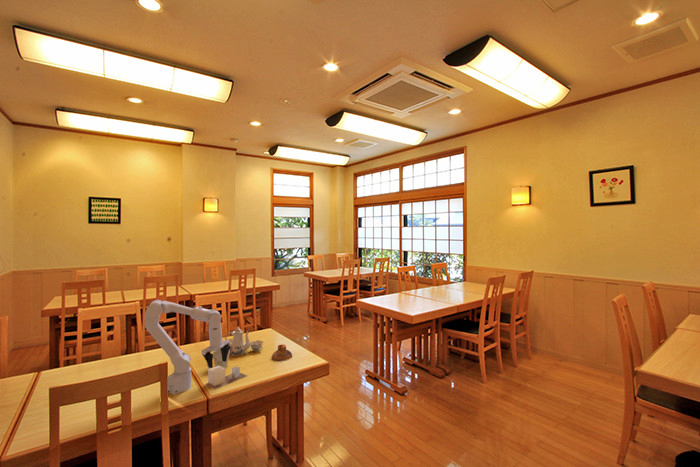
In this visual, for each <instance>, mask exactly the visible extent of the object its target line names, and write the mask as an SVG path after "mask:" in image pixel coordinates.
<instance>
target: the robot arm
mask: <svg viewBox="0 0 700 467" xmlns="http://www.w3.org/2000/svg"><path fill="white" fill-rule="evenodd" d="M162 313H163V314H164V315H166V314H169V313H176V314H177V313H178V314H182V315H188V316H189V317H190V319H192V320H197V321H201V322H205V323H206V322H207V323H208V336H209V337H208V340H209V346H207V347H206V348H204V349H202V350H201V355H202V356H203V358H204V359H205V362H206V365H207V364H208V366H207V367H209V368H208V369H210V368H212V367H214V364H213V362H214V361H213V360H214V358H213V356H214V354H213V351H214V350H217V349H219V348H220V349H221V353H222V361H224V362H226V360H227V355H228V352H229V350H230V346H229V345H230V341H229V339H227V341H225V340H224V341H223V332H222V331H223V329H222V322H221V321H222V315H221V313H220V312H219V311H218V310H216V309H211V308H210V309H208V308H204V307H203V306H200V305H199V306H195V307H189V306H185V305H183V304H179V303H175V302H172V301H167V300H161V299H154V300H152V301H151V302H150V303H149V305H147V307H146V308H145V311H144V328H145V329H146V330H147V332H148V333H149V334H150V335H151V336H152V338H153V339H154V340H155V341H156V344H158V345H159V346H160V347H161V349H162V350H163V351H164V352H165V354H167V356H168V357H169V359H170V361H171V362H170V363H171V364H172V365H173V369H174V370H173V373H171V374H169V375H168V376H167V378H168V391H169V392H168V393H169V394H171V395H173V396H174V395H177V394H180V393H184V392H186V391H189V390H191V388H192V367H191V356H190V355H189V354H188V353H185V352H184V351H183V350H182V349H181V348H179V346H178V345H177V344H176V343H175V342H174V340H173V339H172V338H171V337H170V335H169V334H168V333H167V331H166V330H165V329H164V328H163V327H162V326H161V324H160V323H159V322H160V318H161V316H162Z"/></svg>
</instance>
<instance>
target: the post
mask: <svg viewBox="0 0 700 467" xmlns="http://www.w3.org/2000/svg"><path fill="white" fill-rule="evenodd" d="M240 370H241V367H239V366H238V365H237V366H234V367H232V368H231V374H232V378H233V379H238V378H240V373H241V371H240Z"/></svg>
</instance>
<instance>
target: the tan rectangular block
mask: <svg viewBox="0 0 700 467" xmlns="http://www.w3.org/2000/svg"><path fill="white" fill-rule="evenodd" d="M207 372H208V374H207V378H208V379H207V380H208V382H207V383H209V384H211V385H213V386H216V385H219V384H221V383H224V382H225V376H226V368H223V367H221V366H216V367H214V366H213V368H211V369H210V368H208V370H207Z"/></svg>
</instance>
